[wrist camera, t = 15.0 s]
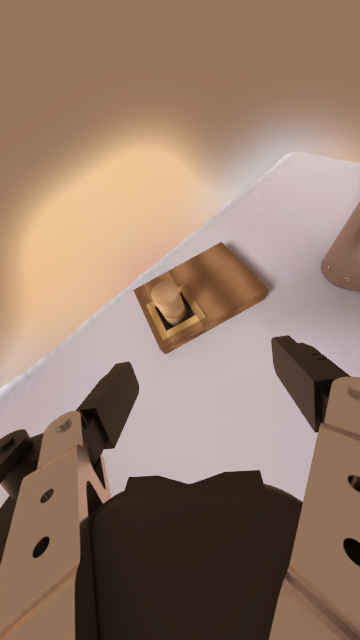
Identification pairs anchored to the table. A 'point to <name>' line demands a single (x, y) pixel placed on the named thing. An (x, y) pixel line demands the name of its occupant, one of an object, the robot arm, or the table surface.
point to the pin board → (203, 295)
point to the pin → (169, 302)
